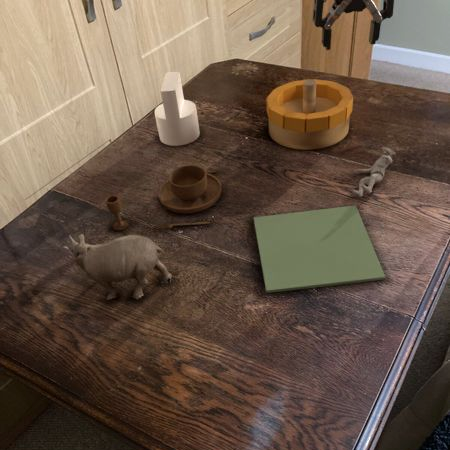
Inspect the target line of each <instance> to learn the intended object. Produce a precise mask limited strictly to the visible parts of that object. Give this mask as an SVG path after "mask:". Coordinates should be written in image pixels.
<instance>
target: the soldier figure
mask: <svg viewBox="0 0 450 450" xmlns="http://www.w3.org/2000/svg"><path fill="white" fill-rule="evenodd" d="M381 150H382V154H381V155H380V156H379V157H378V159H377V160H375V162H374V163H373V165H371V167H369V168H361V169H356V170H354V171H353V173H356V175H358V174H360V173H361V174H370V176H365V177H363V178H361V179H360V180H359V182H358V190H355V189H351V193H352V194H353V195H354V196H357V197H358V198H363V194H364V192H366V193H367V194H372V192H373V191H372V190H373V187H374V185H375V184H377V183H380V182H381V181H382V180H383V179H384V177H385V171H386V170H387V169H388V166H389V165H390V164H392V163H393V161H394V160H393V158H392V157H393V156H397V153H396V152H395V151H394V150H393V149H391V148H389V147H386V146H382V147H381Z"/></svg>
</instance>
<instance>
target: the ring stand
mask: <svg viewBox="0 0 450 450" xmlns="http://www.w3.org/2000/svg"><path fill="white" fill-rule="evenodd" d="M305 80H306V81H304V82H303V97H301V98H295V99H292V100H290V101H288V102H285V103H283V104H282V106H281V107H283V108H284V109H286V110H288V111H290V112H297V113H304V114H310V113H318V112H324V111H327V110H329V109H331V108H333V107H336V106H337V105H338V103H336V102H334V101H332V100H330V99H328V98H323V97H316V81H315V80H313V79H312V80H308V79H305ZM267 117H268V116H267ZM350 119H351V115H350V116H349V117H348V119H347V120H346V121H345V122H344V123H342V124H340V125H337V126H335V127H333V128H331V129H328V128H327V130H322V131H314V132H306V131H305V132H298V131H291V130H285V128H284V129H282V128H280V127H279V126H277V125H275V124H274V123H272V122H270V120H269V117H268V119H267V120H268V134H269V136H270V138H271V139H272V140H273V141H274V142H276V144H278V145H280V146H283V147H285V148H290V149H294V150H304V151H305V150H318V149H324V148H327V147H331V146H333V145H336V144H337V143H339V142H341V141H343V139H345V138H346V136H347V135H348V133H349V129H350V122H351V121H350Z"/></svg>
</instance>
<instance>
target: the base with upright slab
mask: <svg viewBox="0 0 450 450" xmlns="http://www.w3.org/2000/svg"><path fill="white" fill-rule="evenodd" d="M160 96H161V101H162V103H161V104H159V105H158V106H157V107H155V109H154V116H155V122H156V128H157V131H158V137H159V140H160V142H161V143H163V144H165V145H167V146H171V147H179V146H185V145H188V144H191V143H193V142H195V141H196V140H197V139H198V138H199V137H200V134H201V131H200V126H199V118H198V110H197V104H195V102H194V101H192V100H188V99H185V97H184V91H183V84H182V78H181V72H180V71H169V72H165V74H164V77H163V81H162V84H161V89H160Z"/></svg>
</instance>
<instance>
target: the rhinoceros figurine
mask: <svg viewBox="0 0 450 450" xmlns="http://www.w3.org/2000/svg"><path fill="white" fill-rule="evenodd" d="M68 238H69V239H70V241H71V248H69V247H68V246H65V245H64V246H62V249H64V250H70V252H71V253H72V254H73V255H74V257H75V259H74V263H76V265H77V266H78V267H79V268H80V269H81V270H82V271H84V272H85V274H86V276H87V277H88V278H89V279H90V280H93V281H95V282H96V284H97V285H99V287H102V288H104V289H105V290H106V291H107V292H108V295H107V297H106V301H110V300H112V299H116V298H117V297H118V295H117V294H118V290H117V289H116V287H114V285H113V283H123V282H124V281H127V280H131V279H133V280H135V281H136V285H135V288H134V292H133V295H132V296H131V298H132V297H133V298H134V299H136V300H138V299H140V298H141V297H143V296H145V295H144V293H143V289H144V288H146V286H148V285H149V280H147V275H148V274H149V273H151V271H152V270H155V271H157V272H159V273H160V274H161V278H160V283H161V284H169V283H170V282H171V281H172V277H173V276H172V274H171V273H170V272H169V271H168V269H167V267H166V266H165V265H164V263H162V262H161V260H160V259H159V254H161V253H163V248H161V247H160V246H159V245H158V244H157V243H156V242H154V241H153V240H152V239H150V238H149V237H147V236H143V235H139V234H128V235H124V236H123V235H122V236H119V237H117V238H114V239H112V240H110V241H107V242H105V243H102V244H101V243H99V244H89V243H86V242H85V235H84V234H83V233H81V234H80V235H78V236H77V239H78V242H77V241H76V240H75V239H74V238H73V236H71V235H70V234H69V235H68ZM169 279H170V280H169ZM168 280H169V281H168Z"/></svg>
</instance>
